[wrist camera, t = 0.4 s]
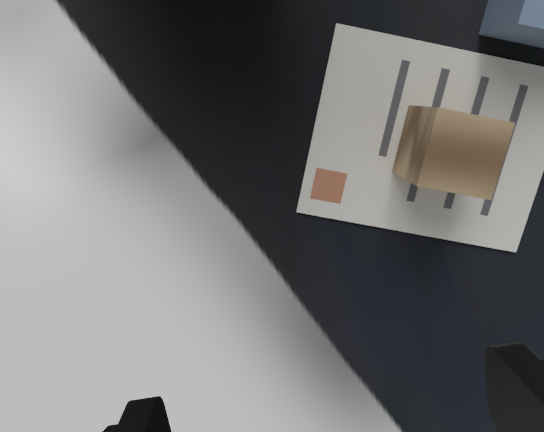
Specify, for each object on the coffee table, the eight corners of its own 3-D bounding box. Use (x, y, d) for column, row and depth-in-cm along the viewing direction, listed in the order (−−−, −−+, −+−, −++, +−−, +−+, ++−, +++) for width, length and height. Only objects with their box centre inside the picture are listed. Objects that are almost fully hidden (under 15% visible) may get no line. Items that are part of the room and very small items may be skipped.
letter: (336, 23, 33) (336, 22, 33) (574, 73, 34) (576, 73, 34) (296, 211, 37) (296, 212, 36) (514, 251, 38) (516, 252, 38)
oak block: (408, 105, 35) (438, 107, 29) (473, 118, 35) (515, 122, 29) (391, 171, 36) (416, 186, 30) (454, 183, 36) (491, 200, 30)
